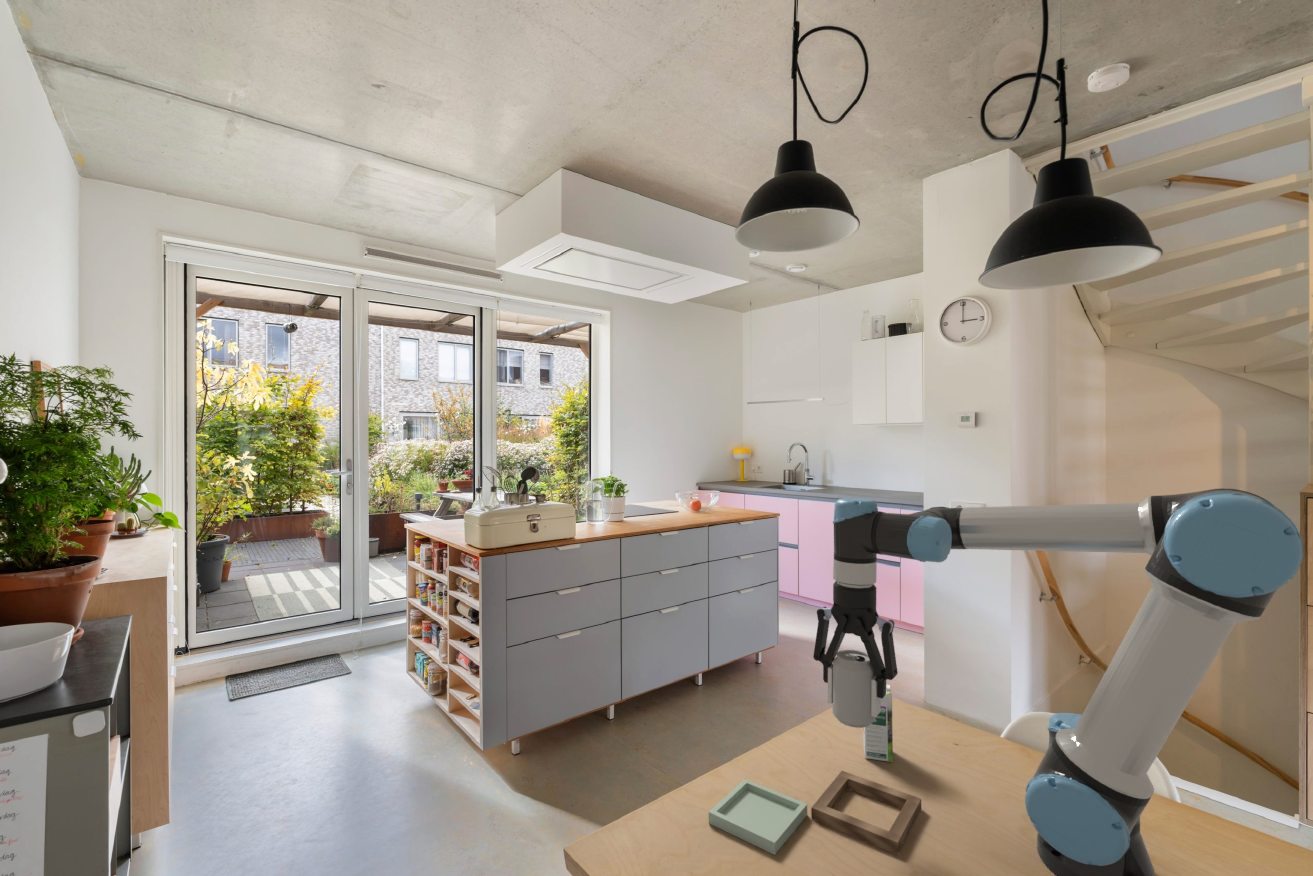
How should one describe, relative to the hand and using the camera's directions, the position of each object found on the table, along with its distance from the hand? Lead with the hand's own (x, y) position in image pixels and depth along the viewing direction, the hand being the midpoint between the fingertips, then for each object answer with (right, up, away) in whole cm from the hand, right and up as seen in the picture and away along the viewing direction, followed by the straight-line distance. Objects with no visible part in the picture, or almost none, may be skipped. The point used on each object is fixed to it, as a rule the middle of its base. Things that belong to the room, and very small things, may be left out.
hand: (853, 707), depth 107 cm
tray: (-18, -20, -2) cm, 26 cm away
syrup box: (+12, -20, +20) cm, 31 cm away
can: (0, -3, 0) cm, 3 cm away
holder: (+2, -20, 0) cm, 20 cm away
